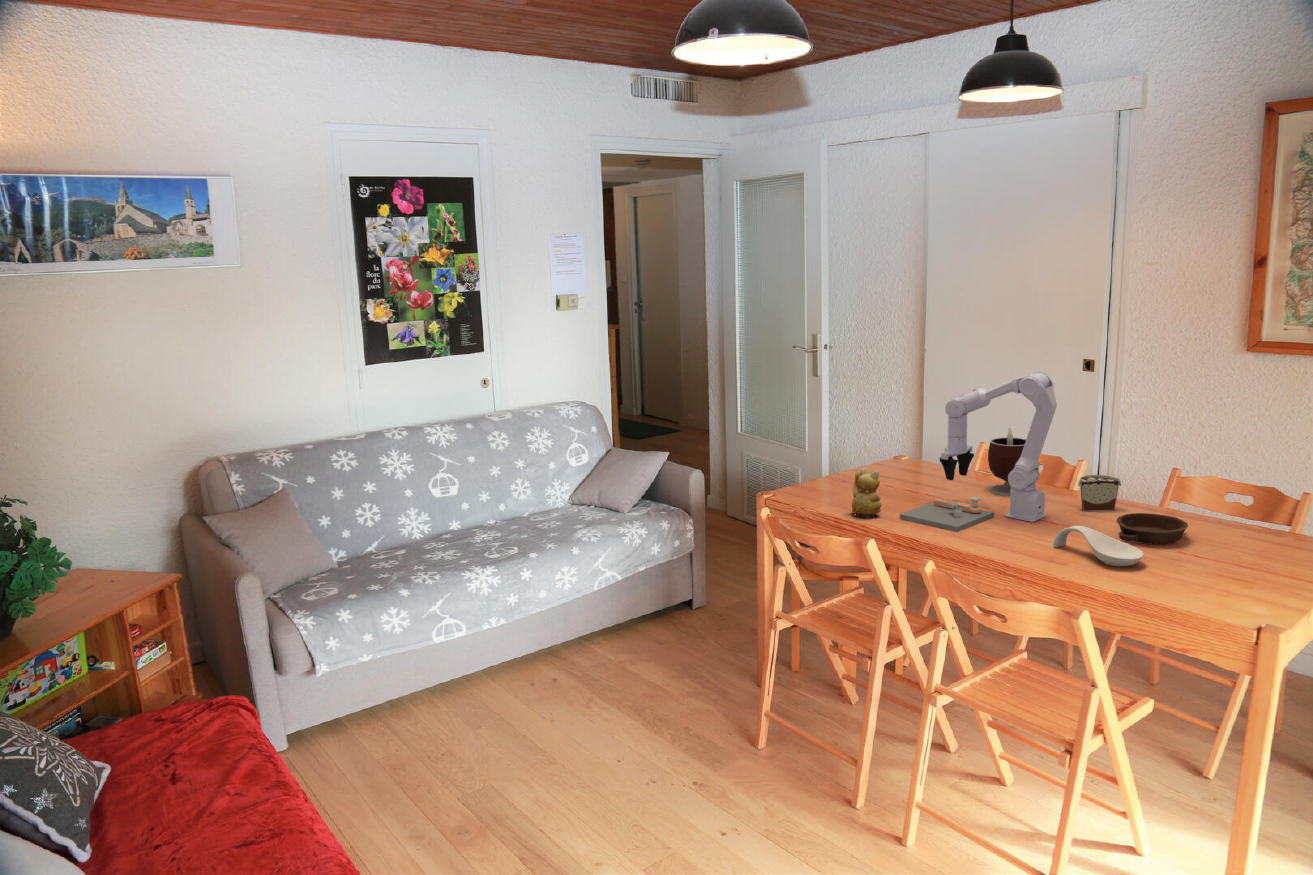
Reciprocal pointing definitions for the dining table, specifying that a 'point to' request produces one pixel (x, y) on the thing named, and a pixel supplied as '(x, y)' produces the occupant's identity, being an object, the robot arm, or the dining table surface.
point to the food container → (1099, 492)
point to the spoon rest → (1103, 546)
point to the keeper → (956, 509)
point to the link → (965, 507)
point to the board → (944, 517)
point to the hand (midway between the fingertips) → (956, 477)
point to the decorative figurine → (866, 493)
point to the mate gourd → (1004, 460)
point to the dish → (1151, 528)
